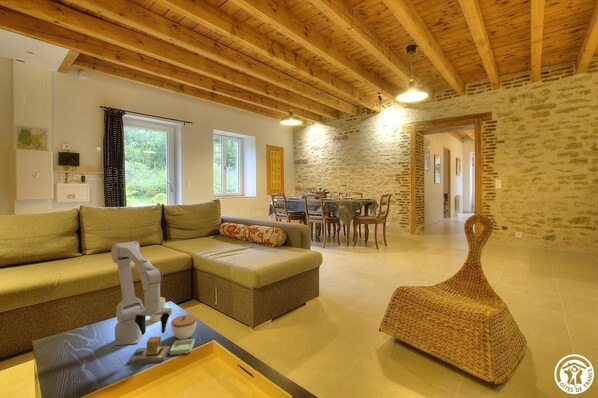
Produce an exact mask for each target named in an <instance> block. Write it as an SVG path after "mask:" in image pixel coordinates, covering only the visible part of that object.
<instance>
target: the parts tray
mask: <svg viewBox="0 0 598 398" xmlns="http://www.w3.org/2000/svg"><path fill="white" fill-rule="evenodd" d="M194 346H195V338H190V339H189V338H187V339H183V340H181V339H176V340H174V342H173V343H172V346H170V351H169V355H170V356H172V355H173V356H175V355H183V354H182V353H186V352H189V351H191V352H192V350H193V348H194ZM186 354H187V353H186Z"/></svg>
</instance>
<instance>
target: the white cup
mask: <svg viewBox="0 0 598 398" xmlns="http://www.w3.org/2000/svg"><path fill="white" fill-rule="evenodd" d="M160 304H161V308H166V298H165V297H162V296H160ZM161 316H162V315H152V316H149V320H150V321H151V322H152V323H153V322H155V323H156V322H161V320H160V318H161Z"/></svg>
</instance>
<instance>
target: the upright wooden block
mask: <svg viewBox="0 0 598 398" xmlns="http://www.w3.org/2000/svg"><path fill="white" fill-rule="evenodd" d="M161 338H162V337H161V336H150V337H149V338H148V340H147V341H146V348H147V356H158V355H159V354H160V353H161V347H162V339H161Z"/></svg>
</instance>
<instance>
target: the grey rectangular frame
mask: <svg viewBox="0 0 598 398" xmlns="http://www.w3.org/2000/svg"><path fill="white" fill-rule="evenodd" d="M170 349H171V346H170V345H165V346H161V353H160V354H159V355H158V356H147V347H141V348H140V347H139V348H137V349H136V350H135V351H134V352H133V354H132V355H131V356H130V358H129V359H128V364H140V363H152V362H153V363H154V362H163V361H165V360H166V359H167V356H168V355H169V354H170Z"/></svg>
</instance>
